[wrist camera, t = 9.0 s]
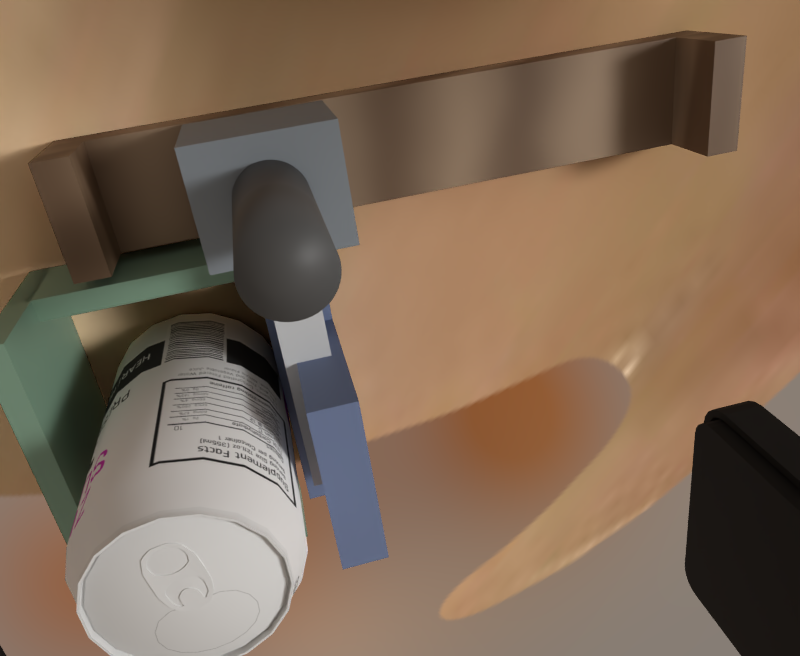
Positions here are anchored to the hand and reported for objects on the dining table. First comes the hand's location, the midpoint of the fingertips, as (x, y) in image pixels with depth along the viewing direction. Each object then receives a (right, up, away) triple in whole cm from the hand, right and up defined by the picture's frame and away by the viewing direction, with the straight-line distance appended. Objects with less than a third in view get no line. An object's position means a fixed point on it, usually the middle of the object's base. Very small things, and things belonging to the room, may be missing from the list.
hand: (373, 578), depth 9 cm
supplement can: (-10, +1, +28) cm, 29 cm away
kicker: (-5, +5, +26) cm, 27 cm away
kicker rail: (0, +12, +24) cm, 27 cm away
